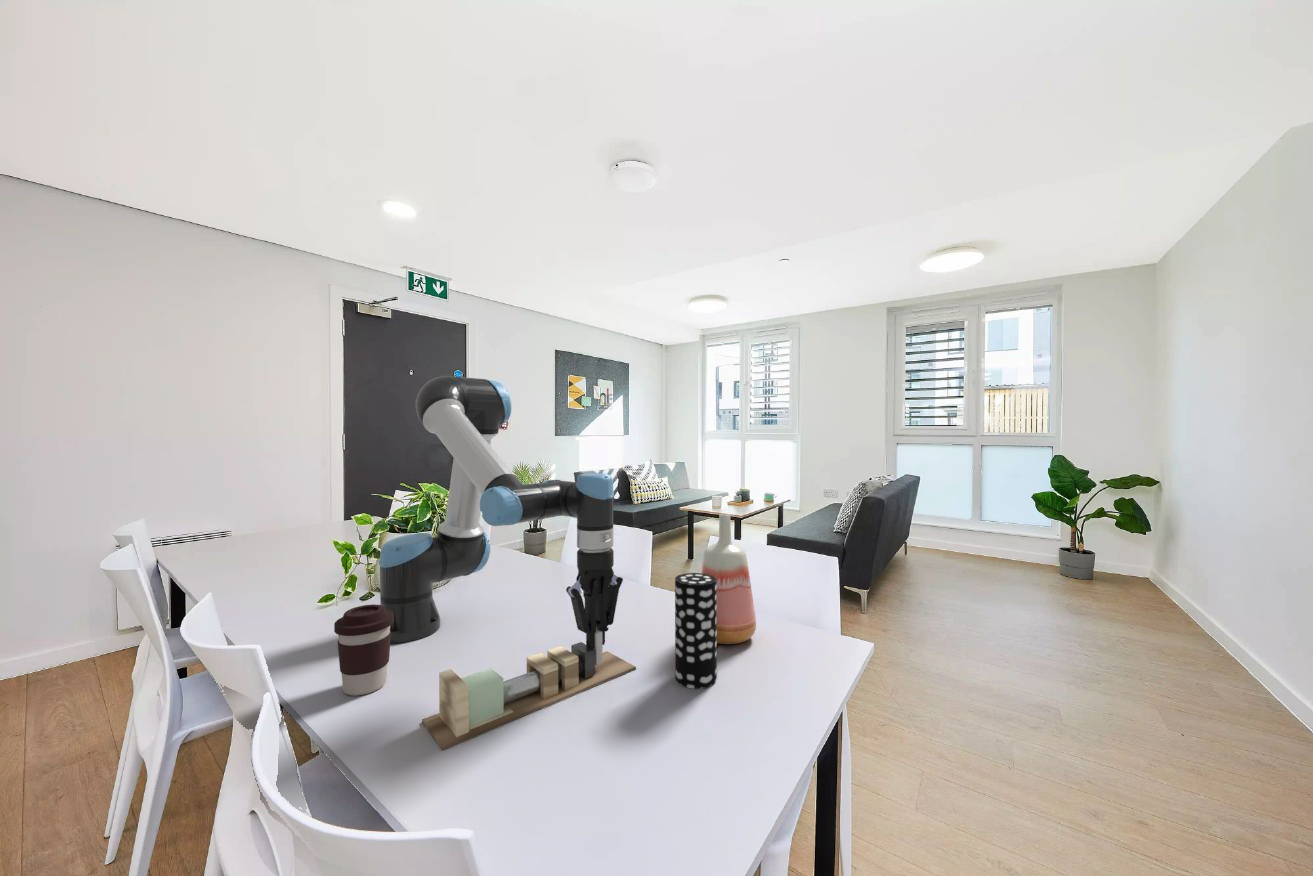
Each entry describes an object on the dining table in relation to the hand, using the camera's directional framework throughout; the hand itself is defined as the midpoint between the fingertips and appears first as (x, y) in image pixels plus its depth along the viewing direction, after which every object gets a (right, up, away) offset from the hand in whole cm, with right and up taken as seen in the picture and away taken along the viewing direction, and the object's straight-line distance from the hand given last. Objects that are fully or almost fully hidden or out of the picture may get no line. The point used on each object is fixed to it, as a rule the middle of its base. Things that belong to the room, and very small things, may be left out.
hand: (595, 661), depth 101 cm
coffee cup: (-44, -2, -6) cm, 45 cm away
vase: (+29, -2, +17) cm, 34 cm away
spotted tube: (+20, -2, -3) cm, 21 cm away
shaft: (-9, -1, -8) cm, 12 cm away
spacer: (-18, -1, -17) cm, 24 cm away
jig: (-10, -2, -9) cm, 13 cm away
